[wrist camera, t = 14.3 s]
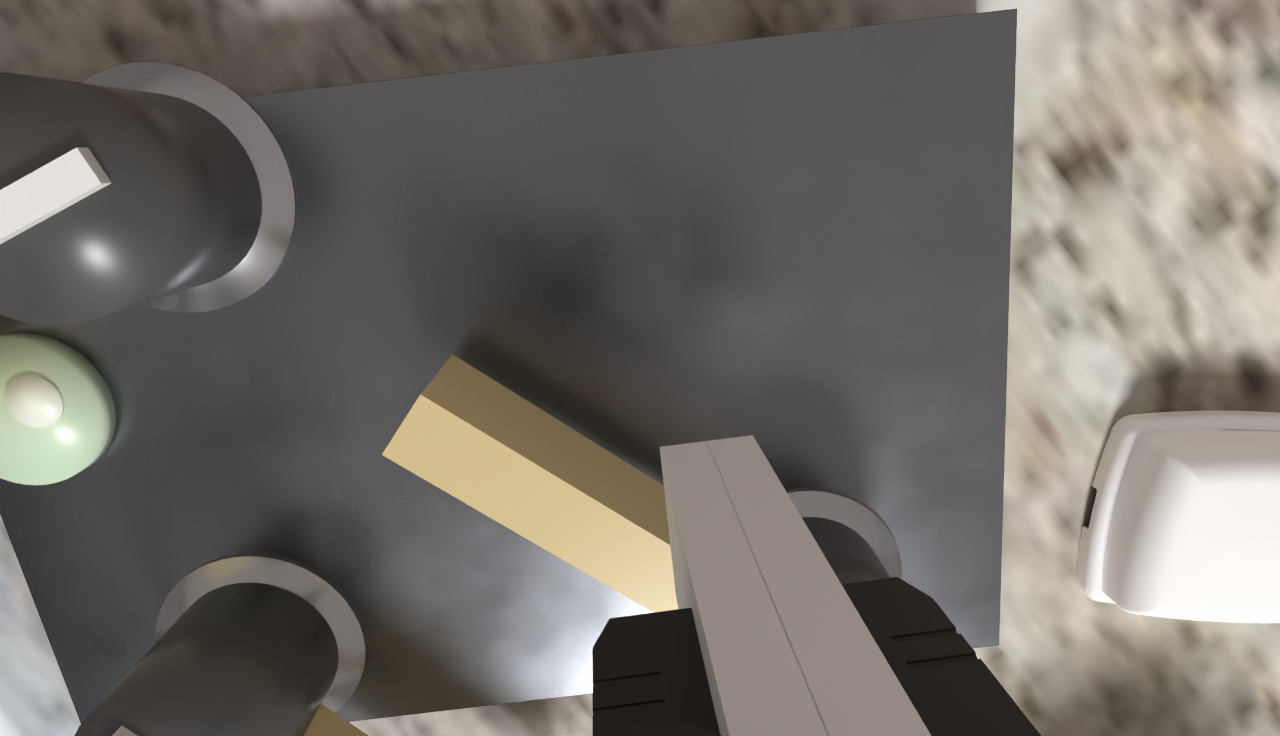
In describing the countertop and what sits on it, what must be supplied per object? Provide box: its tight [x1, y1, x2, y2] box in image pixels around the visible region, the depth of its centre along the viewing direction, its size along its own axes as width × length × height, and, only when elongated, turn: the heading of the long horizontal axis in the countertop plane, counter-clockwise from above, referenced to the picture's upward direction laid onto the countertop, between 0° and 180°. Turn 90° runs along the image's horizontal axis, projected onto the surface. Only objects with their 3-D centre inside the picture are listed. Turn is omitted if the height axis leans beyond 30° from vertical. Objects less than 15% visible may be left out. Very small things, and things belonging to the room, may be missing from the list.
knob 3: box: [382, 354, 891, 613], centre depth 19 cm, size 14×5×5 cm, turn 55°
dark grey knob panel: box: [0, 9, 1017, 724], centre depth 21 cm, size 28×19×2 cm
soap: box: [1076, 411, 1280, 623], centre depth 23 cm, size 9×7×3 cm
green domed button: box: [0, 333, 116, 485], centre depth 19 cm, size 4×4×1 cm
